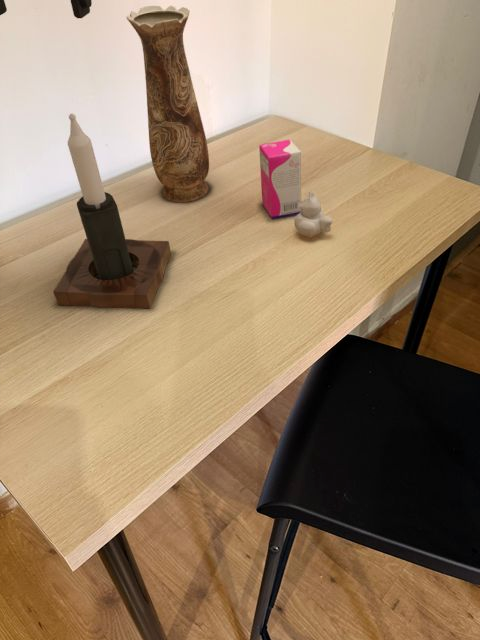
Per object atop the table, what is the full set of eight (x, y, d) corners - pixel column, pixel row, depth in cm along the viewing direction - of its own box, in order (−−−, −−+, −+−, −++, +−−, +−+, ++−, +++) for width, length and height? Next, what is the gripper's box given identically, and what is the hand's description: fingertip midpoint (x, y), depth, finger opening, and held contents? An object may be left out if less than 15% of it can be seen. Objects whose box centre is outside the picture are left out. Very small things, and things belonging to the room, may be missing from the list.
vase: (217, 180, 105) (200, 3, 84) (204, 207, 98) (181, 20, 77) (167, 177, 107) (138, 3, 86) (150, 203, 99) (113, 20, 78)
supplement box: (290, 199, 99) (291, 138, 91) (301, 214, 95) (302, 152, 87) (261, 204, 98) (258, 143, 90) (270, 220, 94) (269, 157, 86)
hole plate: (55, 305, 78) (50, 292, 77) (88, 250, 89) (84, 237, 87) (151, 309, 77) (147, 296, 75) (172, 253, 87) (170, 240, 86)
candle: (104, 291, 80) (53, 125, 63) (97, 273, 84) (47, 110, 66) (137, 282, 82) (96, 116, 64) (129, 265, 85) (88, 103, 68)
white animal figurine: (301, 222, 93) (301, 179, 87) (336, 230, 91) (340, 186, 85) (288, 238, 89) (288, 194, 84) (325, 246, 87) (328, 202, 82)
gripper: (89, -213, 48) (126, 7, 60) (-90, -207, 50) (-19, 7, 62) (58, -219, 43) (106, 24, 55) (-141, -211, 44) (-52, 24, 56)
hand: (40, 15), depth 58 cm, fingers open, 9 cm apart
